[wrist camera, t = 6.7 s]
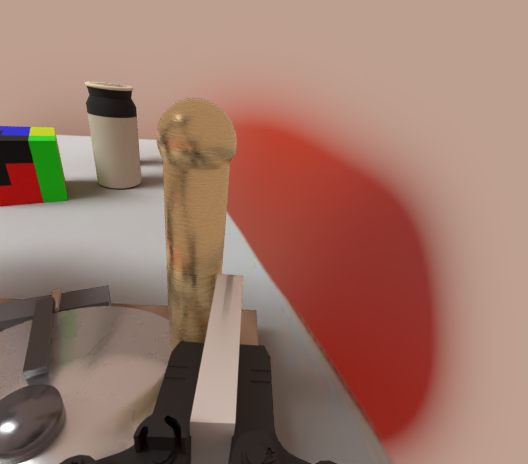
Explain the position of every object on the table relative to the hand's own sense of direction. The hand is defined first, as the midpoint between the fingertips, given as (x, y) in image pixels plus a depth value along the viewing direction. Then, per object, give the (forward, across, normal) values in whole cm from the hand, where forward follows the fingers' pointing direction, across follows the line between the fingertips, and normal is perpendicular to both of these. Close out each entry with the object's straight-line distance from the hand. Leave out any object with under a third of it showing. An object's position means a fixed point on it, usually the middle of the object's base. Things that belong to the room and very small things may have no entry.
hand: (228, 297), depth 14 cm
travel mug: (+46, -25, -13) cm, 54 cm away
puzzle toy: (+37, -36, -13) cm, 53 cm away
